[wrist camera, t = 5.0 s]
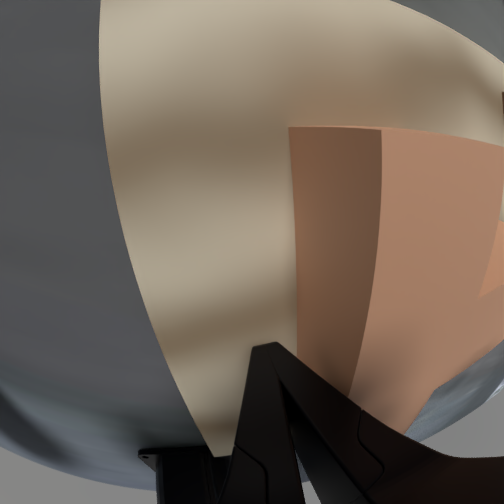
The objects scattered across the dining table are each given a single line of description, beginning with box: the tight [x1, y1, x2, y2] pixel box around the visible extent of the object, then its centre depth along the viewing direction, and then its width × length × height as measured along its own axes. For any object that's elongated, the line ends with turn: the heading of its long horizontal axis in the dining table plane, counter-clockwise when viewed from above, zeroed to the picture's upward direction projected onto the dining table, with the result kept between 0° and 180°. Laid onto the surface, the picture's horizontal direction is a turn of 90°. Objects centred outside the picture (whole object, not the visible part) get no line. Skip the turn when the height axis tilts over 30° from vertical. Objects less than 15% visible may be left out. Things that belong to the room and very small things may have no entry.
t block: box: [288, 126, 504, 435], centre depth 8 cm, size 12×12×4 cm
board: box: [99, 0, 504, 457], centre depth 11 cm, size 22×34×2 cm, turn 95°
